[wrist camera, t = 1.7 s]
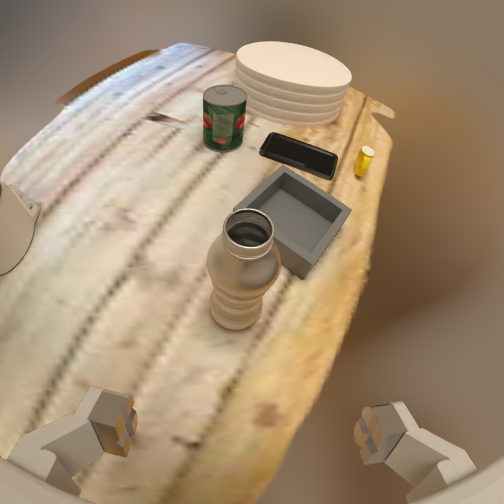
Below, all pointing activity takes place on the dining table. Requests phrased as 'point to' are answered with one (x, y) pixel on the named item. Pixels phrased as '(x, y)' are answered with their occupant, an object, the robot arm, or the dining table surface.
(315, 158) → the phone
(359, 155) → the watch
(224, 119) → the canned tomato
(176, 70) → the dining table surface
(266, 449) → the dining table surface
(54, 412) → the dining table surface
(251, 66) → the plate stack
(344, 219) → the tray
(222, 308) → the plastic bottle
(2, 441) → the dining table surface
